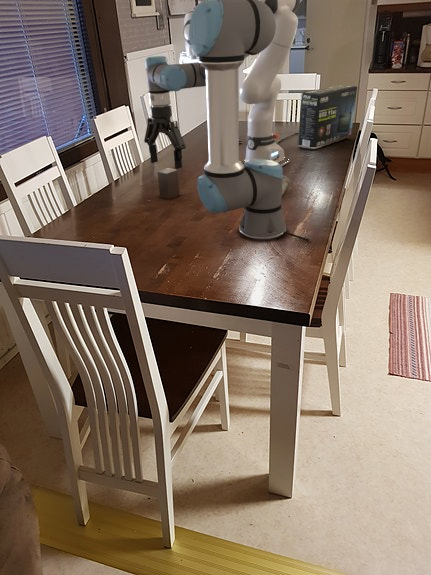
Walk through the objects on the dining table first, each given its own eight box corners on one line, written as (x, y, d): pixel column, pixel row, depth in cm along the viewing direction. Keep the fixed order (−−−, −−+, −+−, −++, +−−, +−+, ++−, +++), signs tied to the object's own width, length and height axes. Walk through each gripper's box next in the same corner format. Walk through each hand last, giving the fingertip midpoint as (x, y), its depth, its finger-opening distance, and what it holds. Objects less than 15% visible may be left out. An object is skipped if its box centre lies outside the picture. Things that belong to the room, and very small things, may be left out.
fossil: (280, 191, 170) (252, 165, 174) (264, 213, 177) (237, 187, 180) (300, 185, 184) (274, 161, 187) (284, 206, 191) (259, 182, 194)
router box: (314, 151, 231) (318, 94, 217) (296, 148, 237) (299, 92, 224) (352, 138, 251) (358, 85, 238) (335, 135, 258) (340, 83, 245)
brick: (159, 196, 182) (157, 171, 177) (170, 192, 186) (168, 167, 180) (168, 199, 179) (166, 173, 174) (179, 195, 183) (177, 169, 177)
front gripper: (130, 104, 167) (137, 162, 178) (176, 110, 152) (181, 173, 163) (146, 101, 172) (152, 157, 182) (192, 106, 157) (196, 168, 167)
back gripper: (175, 51, 220) (177, 82, 227) (205, 52, 208) (207, 85, 215) (184, 50, 224) (186, 80, 231) (215, 50, 212) (216, 83, 219)
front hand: (166, 165), depth 173 cm, fingers open, 13 cm apart
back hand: (196, 82), depth 223 cm, fingers open, 8 cm apart
